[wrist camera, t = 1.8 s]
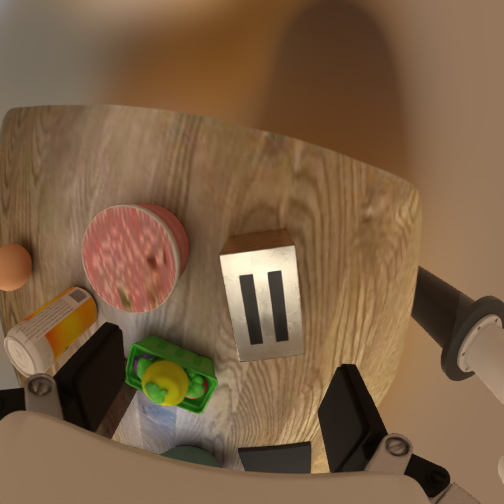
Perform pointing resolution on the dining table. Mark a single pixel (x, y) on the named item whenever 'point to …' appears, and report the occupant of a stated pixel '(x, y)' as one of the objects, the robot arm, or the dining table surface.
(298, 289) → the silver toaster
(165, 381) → the fruit basket
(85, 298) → the beer can
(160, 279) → the container
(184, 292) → the dining table surface
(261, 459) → the mat
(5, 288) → the egg
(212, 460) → the plant pot
